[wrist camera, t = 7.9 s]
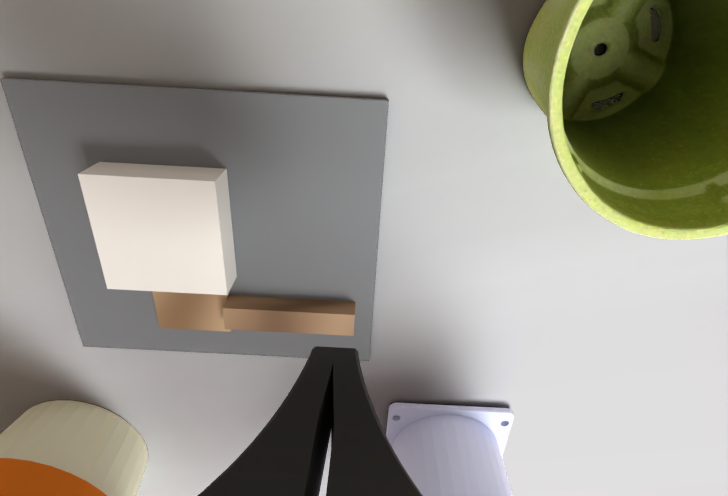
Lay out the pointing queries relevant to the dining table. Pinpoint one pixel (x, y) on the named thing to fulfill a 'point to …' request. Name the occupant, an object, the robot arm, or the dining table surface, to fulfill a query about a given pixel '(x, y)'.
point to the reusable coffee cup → (71, 452)
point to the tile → (161, 227)
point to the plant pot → (638, 109)
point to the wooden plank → (253, 313)
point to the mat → (246, 192)
